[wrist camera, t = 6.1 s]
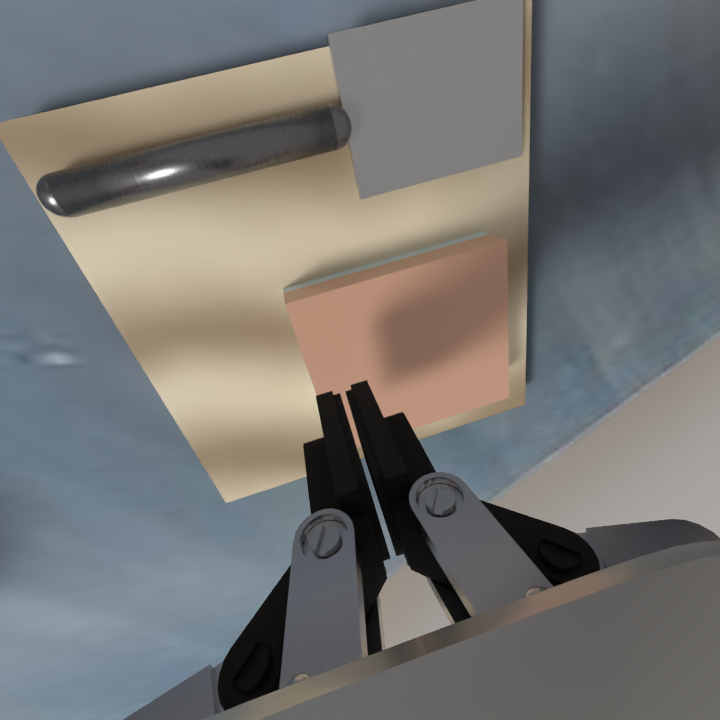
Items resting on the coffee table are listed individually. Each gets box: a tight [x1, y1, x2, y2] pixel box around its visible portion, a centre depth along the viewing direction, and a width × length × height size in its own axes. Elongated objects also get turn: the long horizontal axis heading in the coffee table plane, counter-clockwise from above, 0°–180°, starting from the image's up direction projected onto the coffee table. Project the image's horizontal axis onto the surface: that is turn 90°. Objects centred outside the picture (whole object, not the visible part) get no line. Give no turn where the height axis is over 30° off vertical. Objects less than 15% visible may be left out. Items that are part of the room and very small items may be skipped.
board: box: [0, 0, 532, 503], centre depth 15 cm, size 16×16×1 cm
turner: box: [36, 0, 523, 218], centre depth 11 cm, size 4×15×1 cm, turn 102°
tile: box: [283, 232, 509, 447], centre depth 15 cm, size 7×2×8 cm
